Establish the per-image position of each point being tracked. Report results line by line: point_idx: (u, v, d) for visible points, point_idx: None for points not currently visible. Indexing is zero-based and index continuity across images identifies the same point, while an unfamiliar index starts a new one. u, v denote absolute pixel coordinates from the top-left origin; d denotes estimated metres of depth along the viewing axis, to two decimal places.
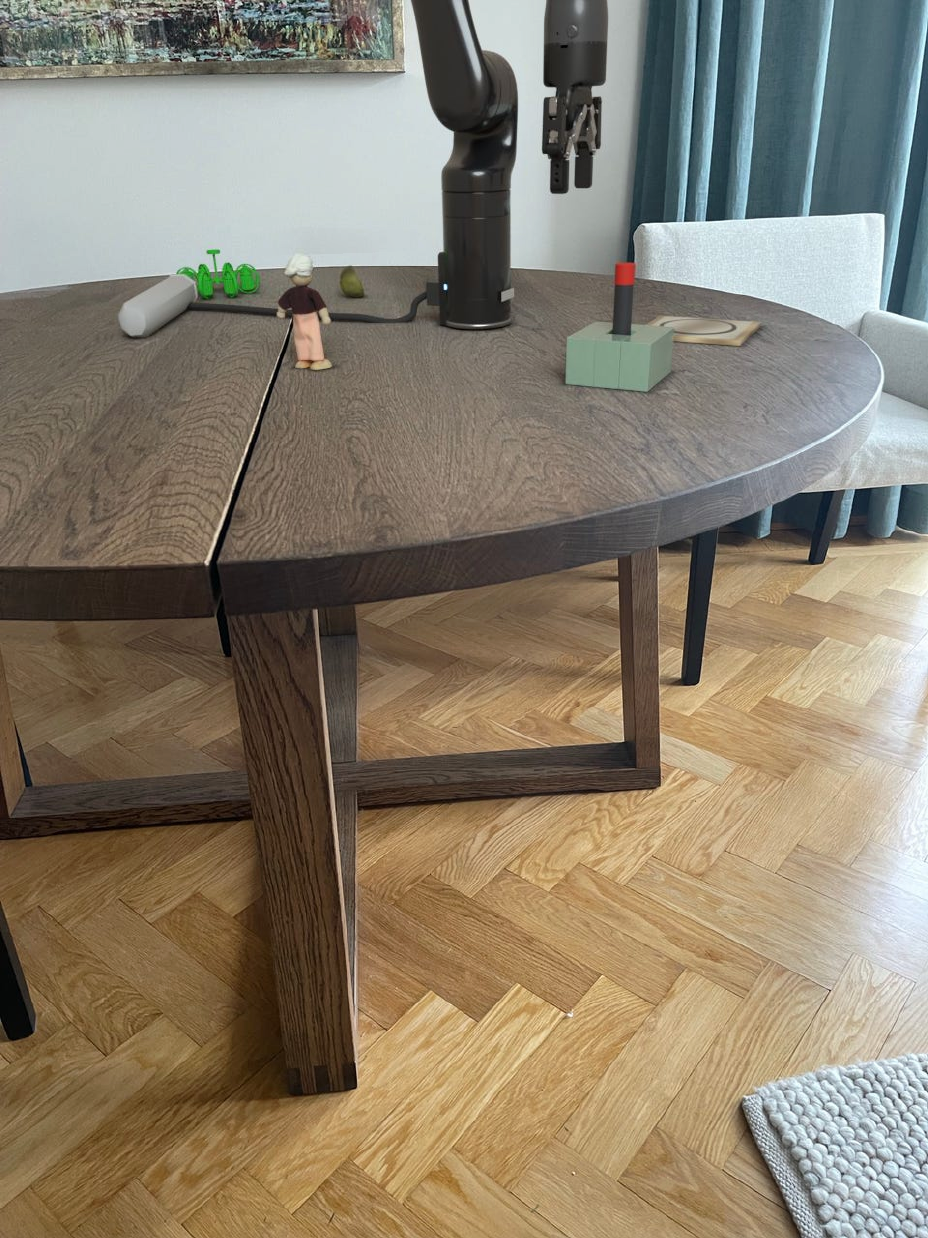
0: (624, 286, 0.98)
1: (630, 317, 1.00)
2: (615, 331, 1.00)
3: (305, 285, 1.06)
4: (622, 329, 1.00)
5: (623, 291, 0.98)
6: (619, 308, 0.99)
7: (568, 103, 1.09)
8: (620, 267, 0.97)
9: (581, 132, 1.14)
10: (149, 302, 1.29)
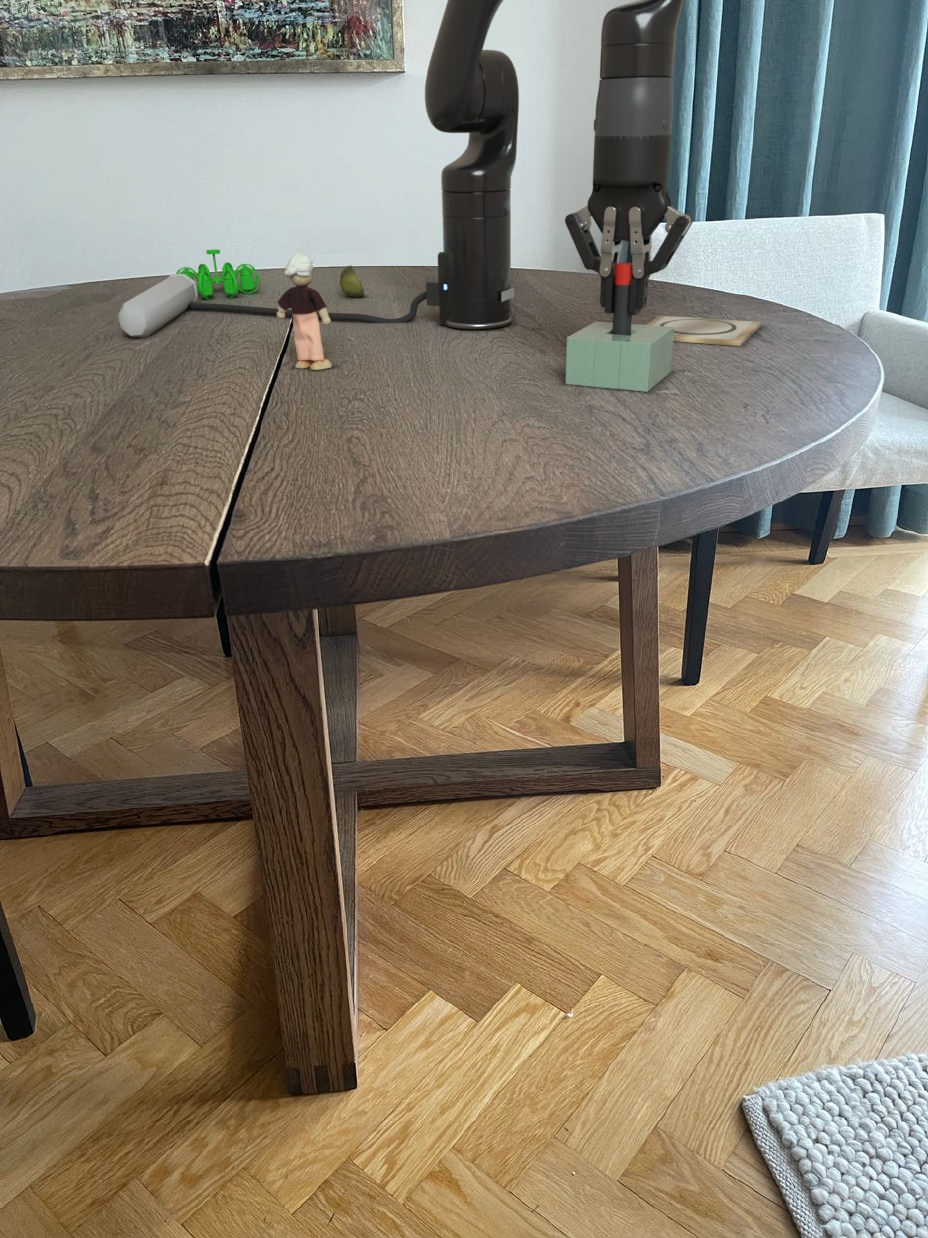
0: (624, 286, 0.98)
1: (630, 317, 1.00)
2: (615, 331, 1.00)
3: (305, 285, 1.06)
4: (622, 329, 1.00)
5: (623, 291, 0.98)
6: (619, 308, 0.99)
7: None
8: (620, 267, 0.97)
9: (624, 238, 0.95)
10: (149, 302, 1.29)
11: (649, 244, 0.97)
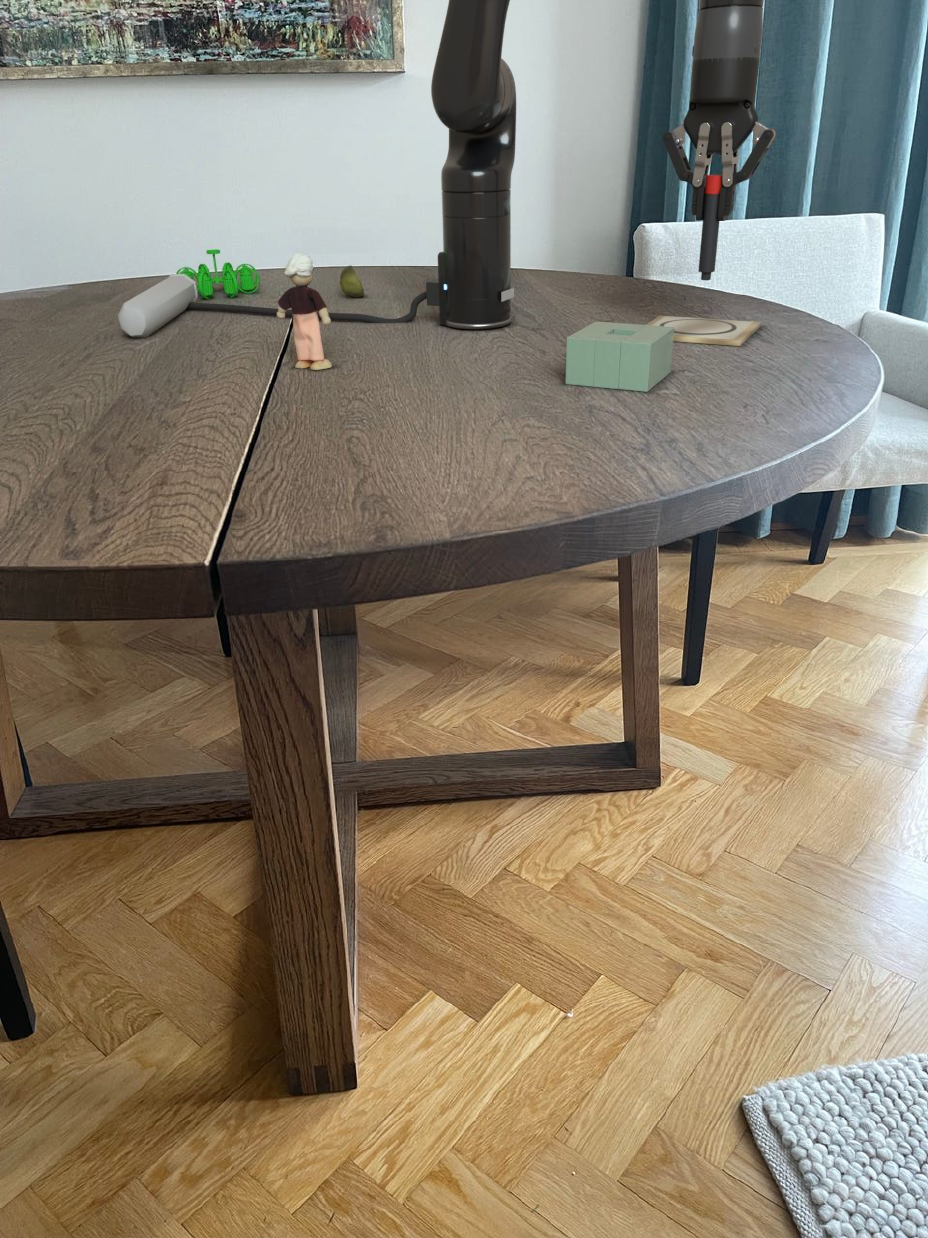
0: (714, 194, 1.12)
1: (718, 223, 1.14)
2: (704, 236, 1.15)
3: (305, 285, 1.06)
4: (710, 234, 1.14)
5: (713, 199, 1.12)
6: (709, 215, 1.13)
7: (683, 121, 1.10)
8: (711, 177, 1.11)
9: (716, 151, 1.10)
10: (149, 302, 1.29)
11: (736, 157, 1.11)
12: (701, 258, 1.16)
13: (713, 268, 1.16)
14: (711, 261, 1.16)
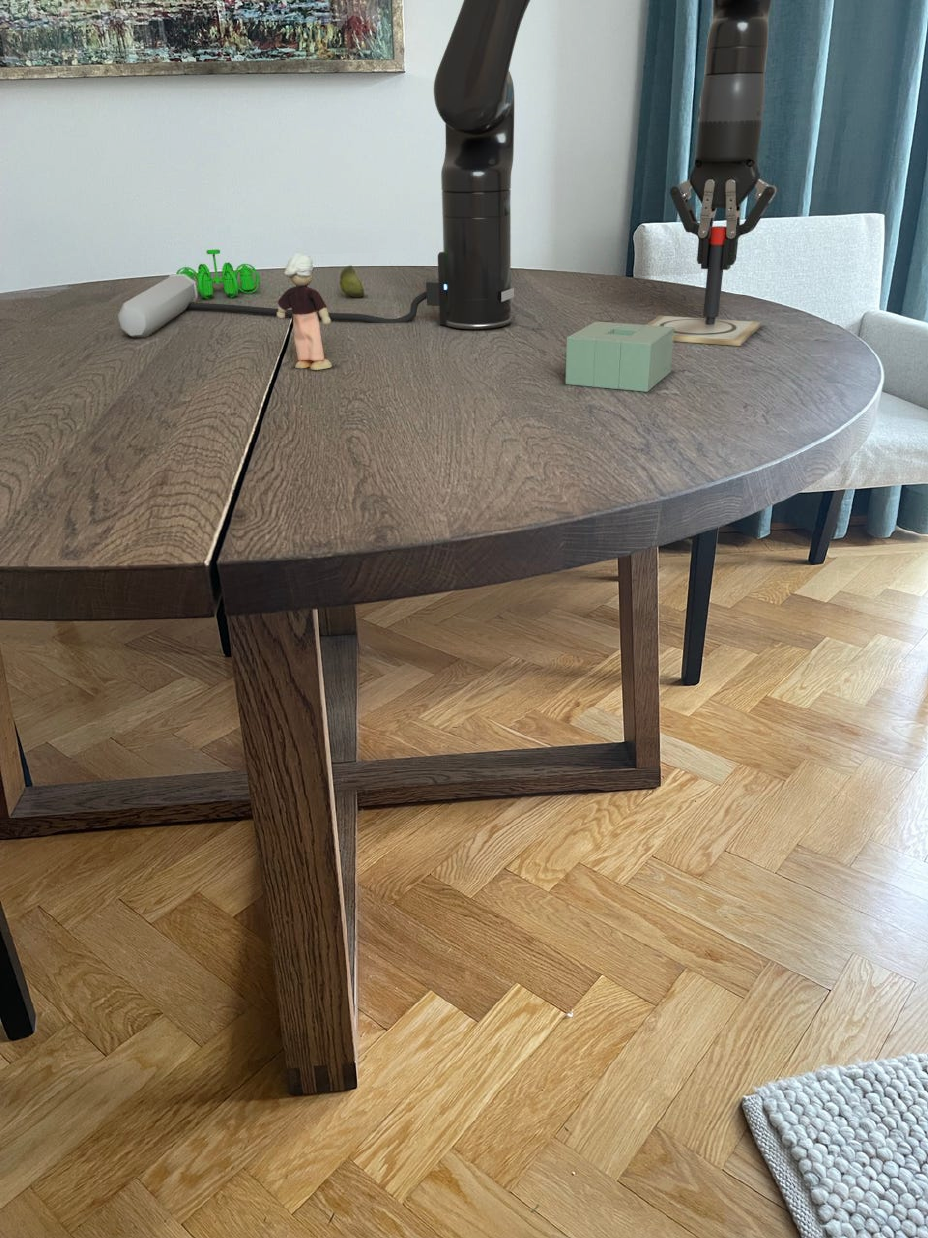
0: (718, 245, 1.19)
1: (722, 272, 1.21)
2: (709, 283, 1.21)
3: (305, 285, 1.06)
4: (715, 282, 1.21)
5: (717, 250, 1.19)
6: (713, 264, 1.20)
7: (689, 177, 1.17)
8: (716, 229, 1.18)
9: (720, 205, 1.17)
10: (149, 302, 1.29)
11: (739, 210, 1.18)
12: (706, 304, 1.23)
13: (717, 313, 1.23)
14: (715, 307, 1.22)
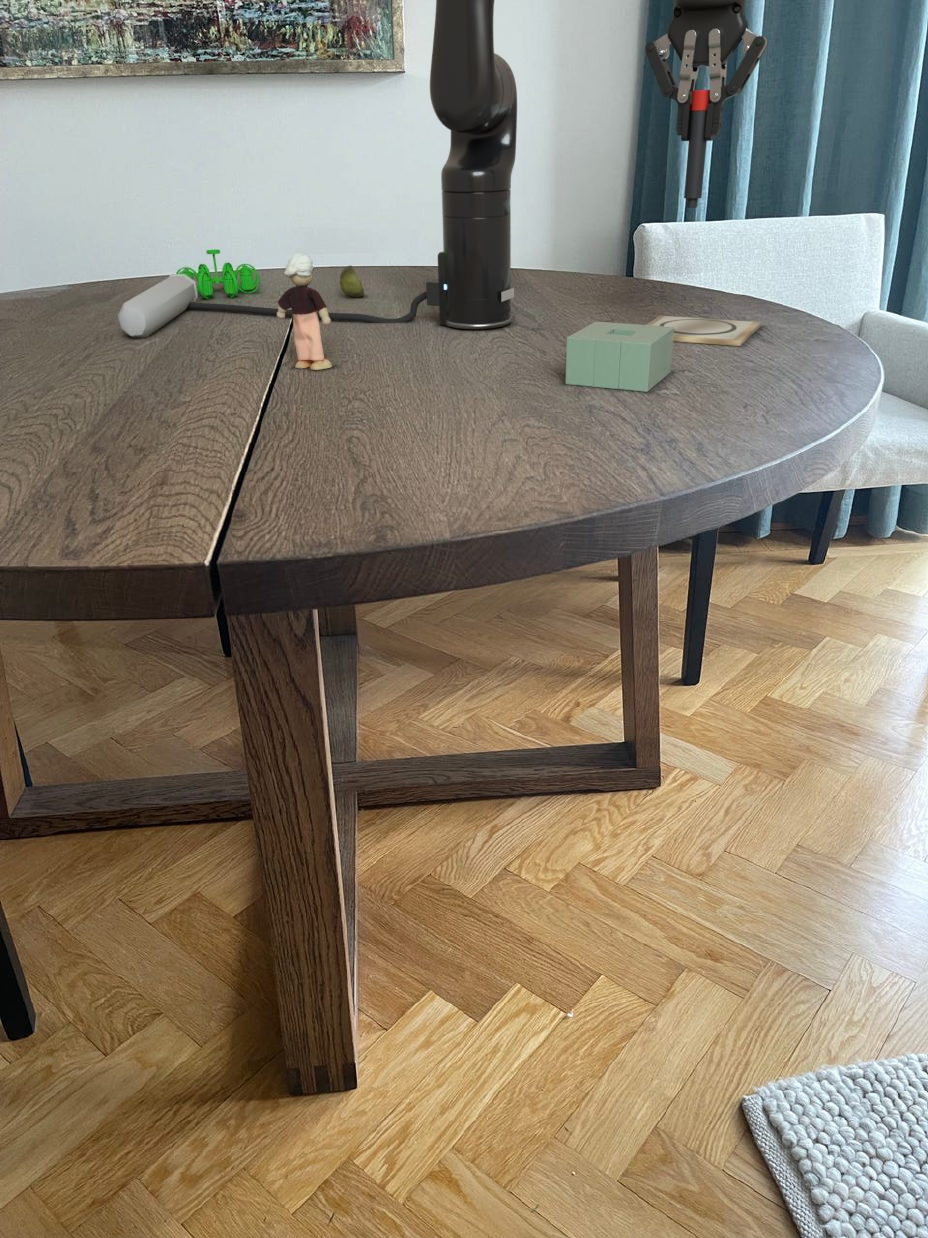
0: (700, 111, 1.04)
1: (705, 144, 1.06)
2: (690, 158, 1.06)
3: (305, 285, 1.06)
4: (697, 155, 1.06)
5: (700, 116, 1.04)
6: (695, 134, 1.05)
7: (667, 30, 1.02)
8: (698, 92, 1.03)
9: (703, 62, 1.01)
10: (149, 302, 1.29)
11: (725, 70, 1.03)
12: (687, 183, 1.08)
13: (700, 194, 1.08)
14: (698, 186, 1.07)
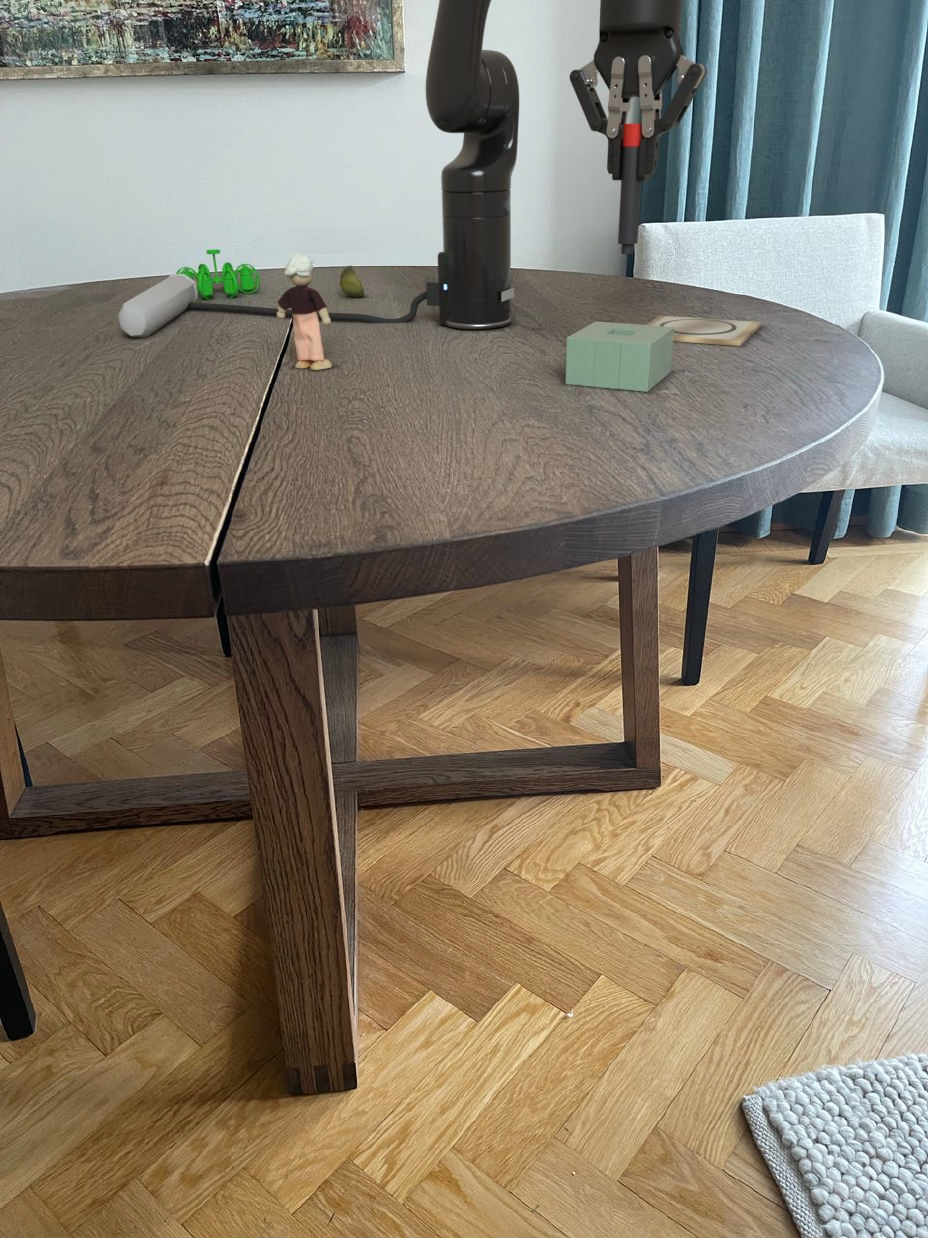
0: (633, 147, 0.92)
1: (639, 183, 0.93)
2: (623, 199, 0.94)
3: (305, 285, 1.06)
4: (630, 196, 0.94)
5: (632, 153, 0.92)
6: (627, 173, 0.93)
7: (594, 57, 0.90)
8: (629, 126, 0.91)
9: (633, 92, 0.89)
10: (149, 302, 1.29)
11: (659, 101, 0.90)
12: (621, 227, 0.95)
13: (635, 239, 0.96)
14: (632, 230, 0.95)
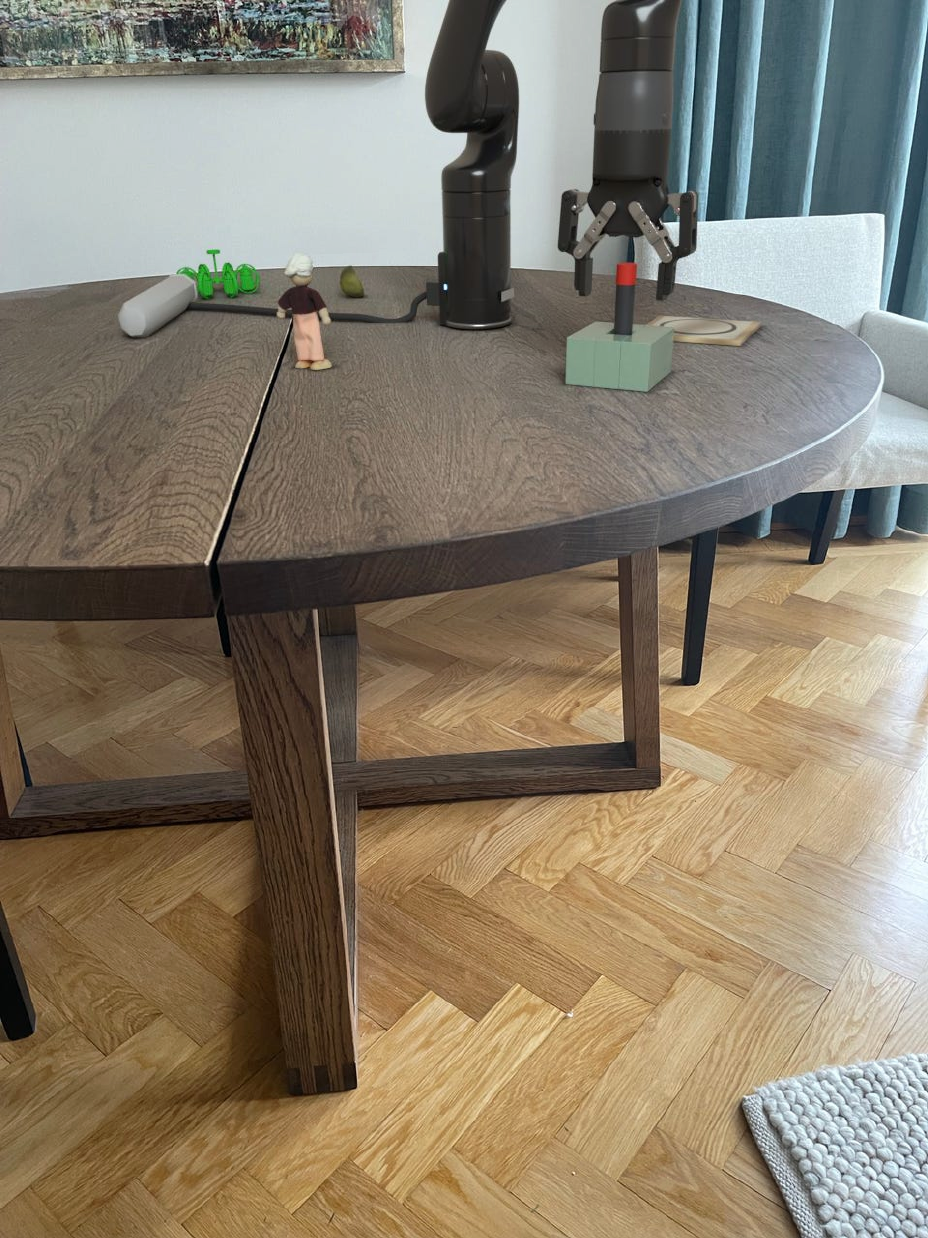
0: (625, 286, 0.98)
1: (631, 317, 0.99)
2: (616, 331, 1.00)
3: (305, 285, 1.06)
4: (623, 329, 1.00)
5: (624, 291, 0.98)
6: (620, 308, 0.99)
7: (587, 198, 0.96)
8: (621, 267, 0.97)
9: (624, 232, 0.95)
10: (149, 302, 1.29)
11: (664, 229, 0.95)
12: None
13: None
14: None
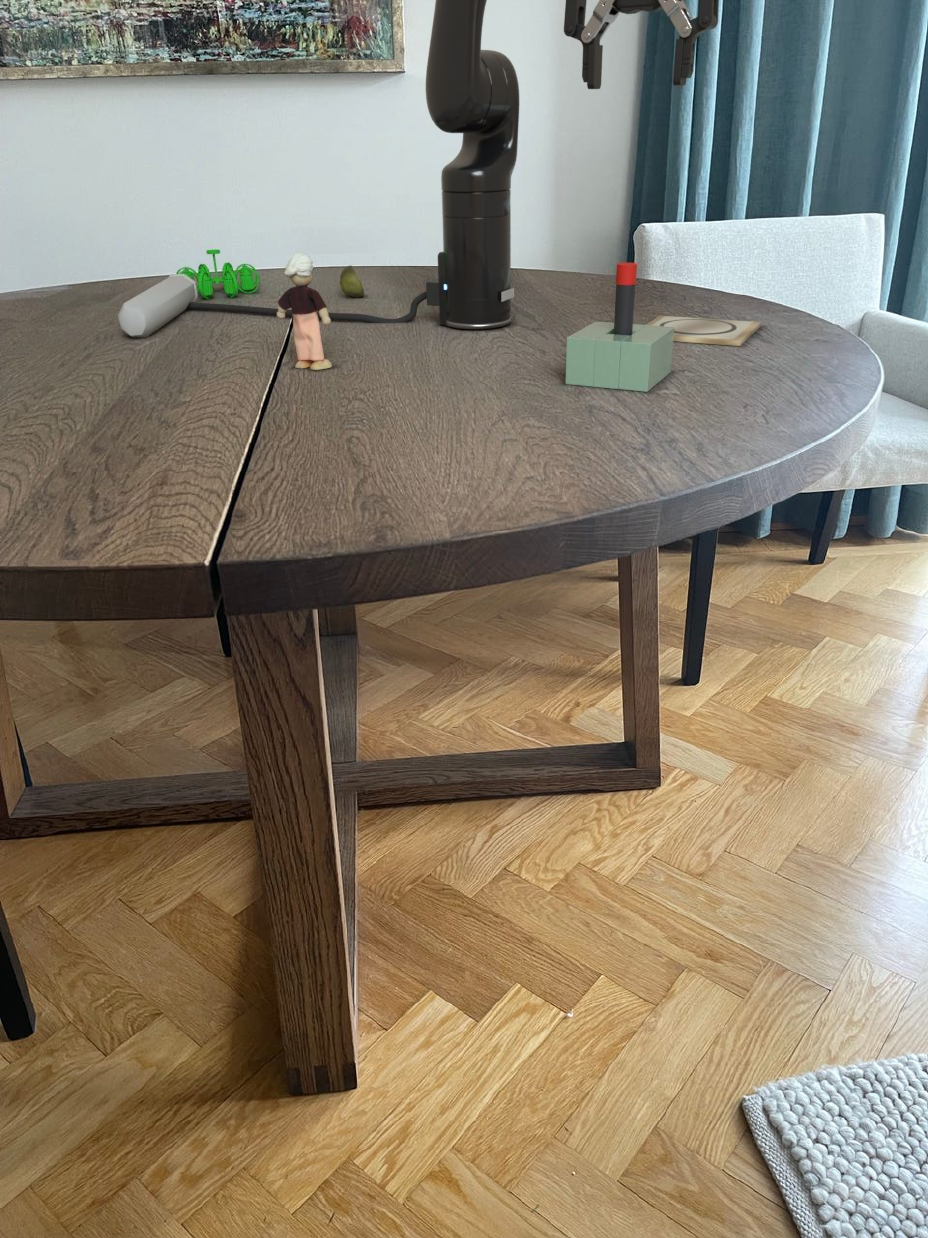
0: (625, 286, 0.98)
1: (631, 317, 0.99)
2: (616, 331, 1.00)
3: (305, 285, 1.06)
4: (623, 329, 1.00)
5: (624, 291, 0.98)
6: (620, 308, 0.99)
7: None
8: (621, 267, 0.97)
9: (638, 5, 0.86)
10: (149, 302, 1.29)
11: (682, 2, 0.86)
12: None
13: None
14: None
